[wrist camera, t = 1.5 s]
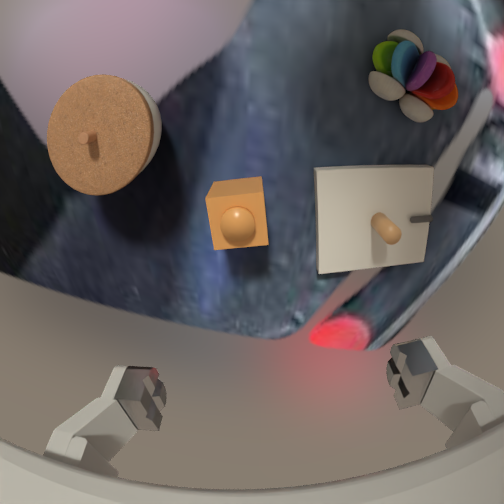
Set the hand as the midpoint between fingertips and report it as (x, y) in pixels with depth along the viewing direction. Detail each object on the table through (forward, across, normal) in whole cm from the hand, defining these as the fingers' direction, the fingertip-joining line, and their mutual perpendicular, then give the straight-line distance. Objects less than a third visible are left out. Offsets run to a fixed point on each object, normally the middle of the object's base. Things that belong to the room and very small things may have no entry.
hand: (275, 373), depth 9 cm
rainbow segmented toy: (+24, -17, -12) cm, 32 cm away
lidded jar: (+24, +13, -9) cm, 29 cm away
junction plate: (+24, -13, +4) cm, 28 cm away
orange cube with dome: (+24, +2, +1) cm, 25 cm away
